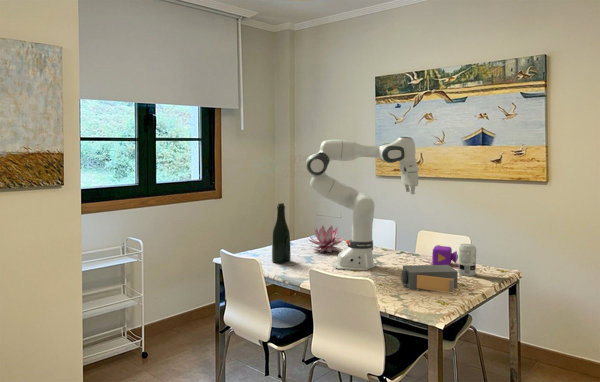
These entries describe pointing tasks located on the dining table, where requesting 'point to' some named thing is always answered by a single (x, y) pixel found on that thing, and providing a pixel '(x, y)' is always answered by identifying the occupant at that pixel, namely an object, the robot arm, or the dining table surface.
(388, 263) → the dining table surface
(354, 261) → the robot arm
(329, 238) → the decorative flower
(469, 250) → the supplement can
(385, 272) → the dining table surface
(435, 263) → the toy camera
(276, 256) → the beer bottle
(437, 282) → the side door
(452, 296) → the dining table surface
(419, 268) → the grey cabinet
